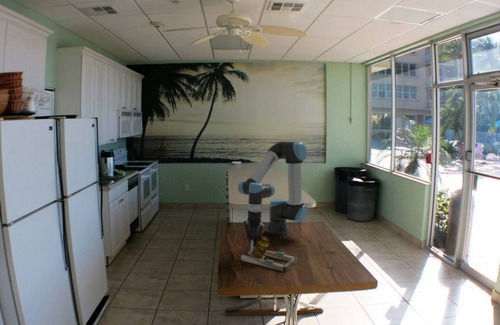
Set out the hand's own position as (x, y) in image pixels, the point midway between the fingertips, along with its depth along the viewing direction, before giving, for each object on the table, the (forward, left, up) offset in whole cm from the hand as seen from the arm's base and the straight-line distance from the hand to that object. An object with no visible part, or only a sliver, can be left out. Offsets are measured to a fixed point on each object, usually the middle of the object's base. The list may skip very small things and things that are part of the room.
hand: (252, 251), depth 180 cm
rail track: (-1, +10, -4) cm, 11 cm away
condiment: (0, +2, -2) cm, 3 cm away
